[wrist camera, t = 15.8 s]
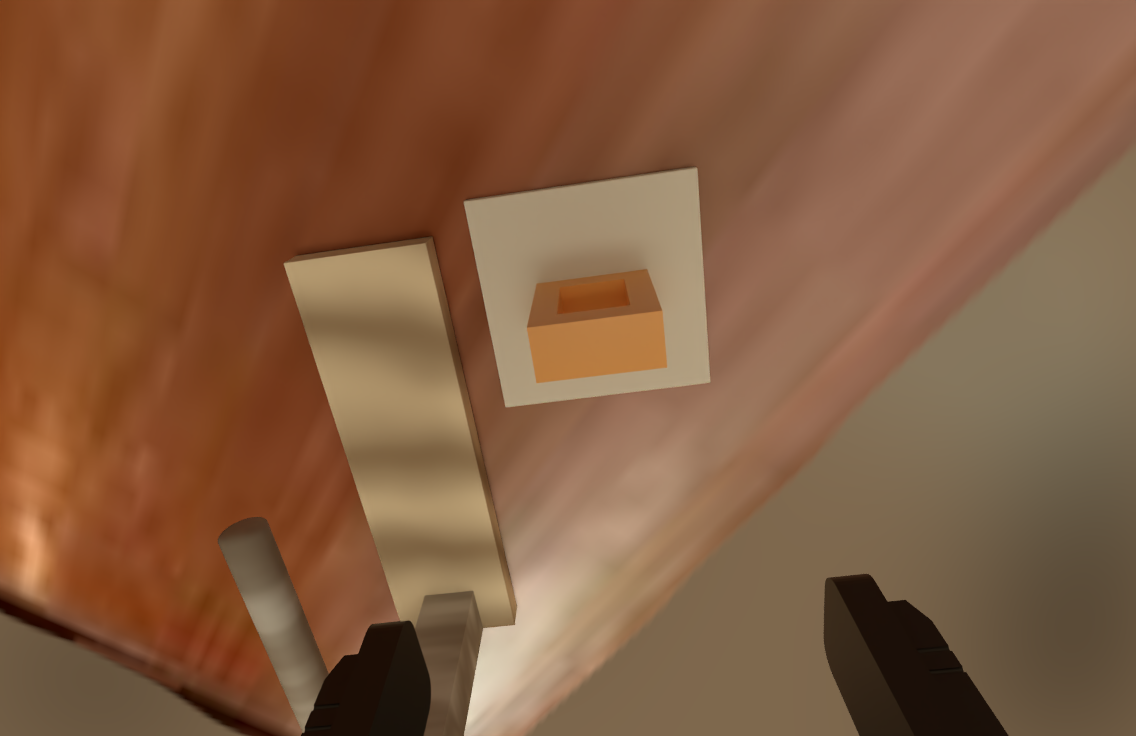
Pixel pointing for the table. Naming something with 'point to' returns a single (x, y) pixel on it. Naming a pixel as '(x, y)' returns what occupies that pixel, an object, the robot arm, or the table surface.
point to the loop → (596, 327)
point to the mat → (593, 271)
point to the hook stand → (391, 473)
